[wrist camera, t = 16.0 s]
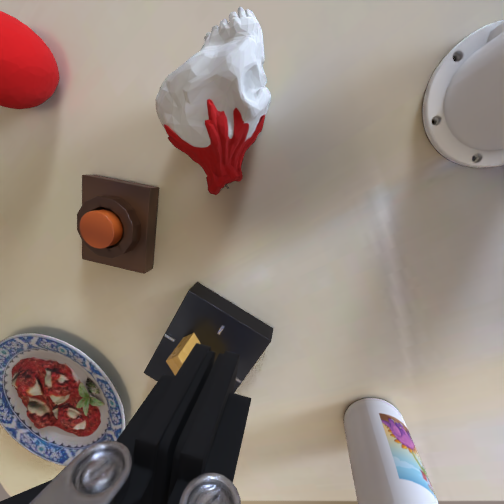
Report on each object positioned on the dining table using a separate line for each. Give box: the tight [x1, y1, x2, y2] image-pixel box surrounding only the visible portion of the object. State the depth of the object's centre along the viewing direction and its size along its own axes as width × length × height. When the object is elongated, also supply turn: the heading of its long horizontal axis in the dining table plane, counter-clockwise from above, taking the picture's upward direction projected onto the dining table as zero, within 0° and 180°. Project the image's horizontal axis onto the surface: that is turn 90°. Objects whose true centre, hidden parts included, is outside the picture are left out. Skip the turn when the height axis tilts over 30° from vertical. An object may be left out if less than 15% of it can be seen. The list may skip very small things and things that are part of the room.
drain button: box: [80, 209, 123, 249], centre depth 33 cm, size 4×4×2 cm
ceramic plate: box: [0, 333, 125, 466], centre depth 46 cm, size 26×26×3 cm
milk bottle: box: [344, 398, 438, 504], centre depth 29 cm, size 8×8×20 cm
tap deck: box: [144, 282, 273, 393], centre depth 38 cm, size 15×12×3 cm
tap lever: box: [166, 333, 201, 375], centre depth 34 cm, size 8×2×5 cm, turn 29°
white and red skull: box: [156, 7, 271, 195], centre depth 28 cm, size 9×11×15 cm
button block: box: [77, 175, 159, 273], centre depth 35 cm, size 11×9×4 cm
